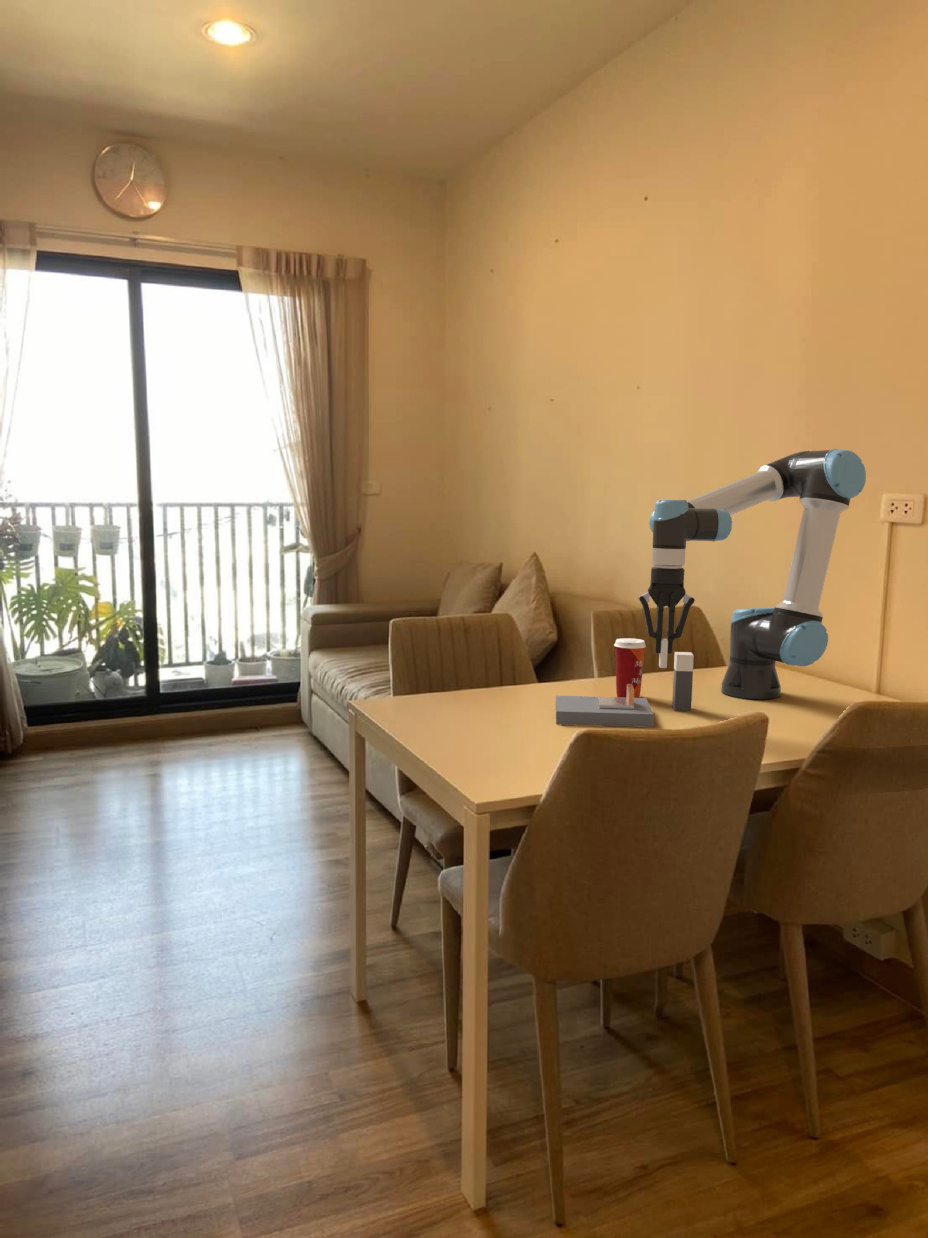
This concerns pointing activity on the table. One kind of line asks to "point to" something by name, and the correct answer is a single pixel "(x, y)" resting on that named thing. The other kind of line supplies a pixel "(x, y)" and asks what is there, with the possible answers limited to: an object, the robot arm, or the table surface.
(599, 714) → the block
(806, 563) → the robot arm
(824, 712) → the table surface
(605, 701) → the light gray plate
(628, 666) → the coffee cup
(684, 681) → the grey white tall block
